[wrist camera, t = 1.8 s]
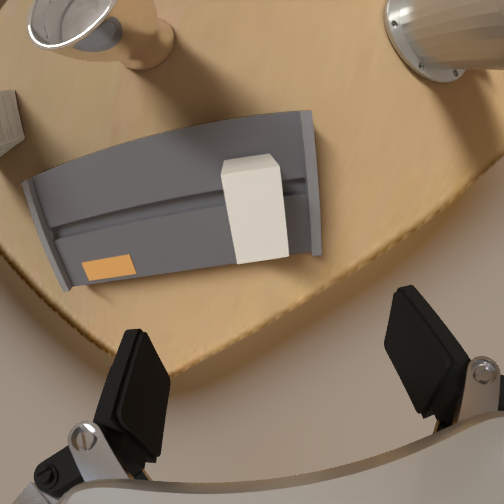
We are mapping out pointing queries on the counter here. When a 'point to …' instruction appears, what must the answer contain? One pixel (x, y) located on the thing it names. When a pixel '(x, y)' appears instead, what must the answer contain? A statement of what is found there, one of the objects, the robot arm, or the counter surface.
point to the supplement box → (9, 122)
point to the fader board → (169, 199)
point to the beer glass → (102, 31)
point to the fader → (255, 208)
